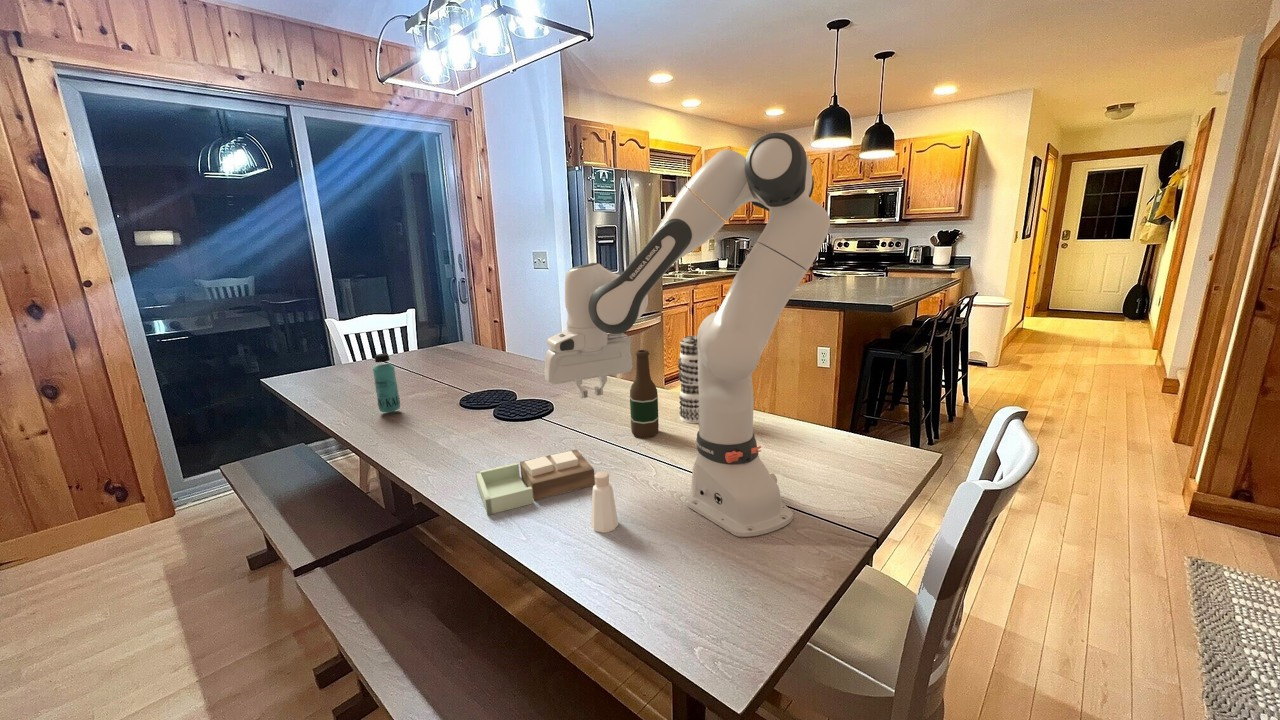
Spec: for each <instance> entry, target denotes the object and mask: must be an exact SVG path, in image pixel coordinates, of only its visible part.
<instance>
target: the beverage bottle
mask: <svg viewBox="0 0 1280 720" xmlns="http://www.w3.org/2000/svg"><path fill="white" fill-rule="evenodd" d="M390 360H391V359H390V356H389V354H388V353H378V354H376V355H375V356H374V362H375V363H378V364H376V365H375V366H374V367H373V368H372V371H373V372H372V373H373V379H374V384H375V385H374V387H375V392H376V397H377V398H376V400H377V405H378V410H379V412H381V413H392V412H395V411H398V410H400V408H401V400H400V398H401V397H400V394H399V388H398V382H397V377H396V371H395V370H396V369H395V366H394V365H393V364H391V363H388V361H390ZM385 362H386V363H385Z"/></svg>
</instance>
